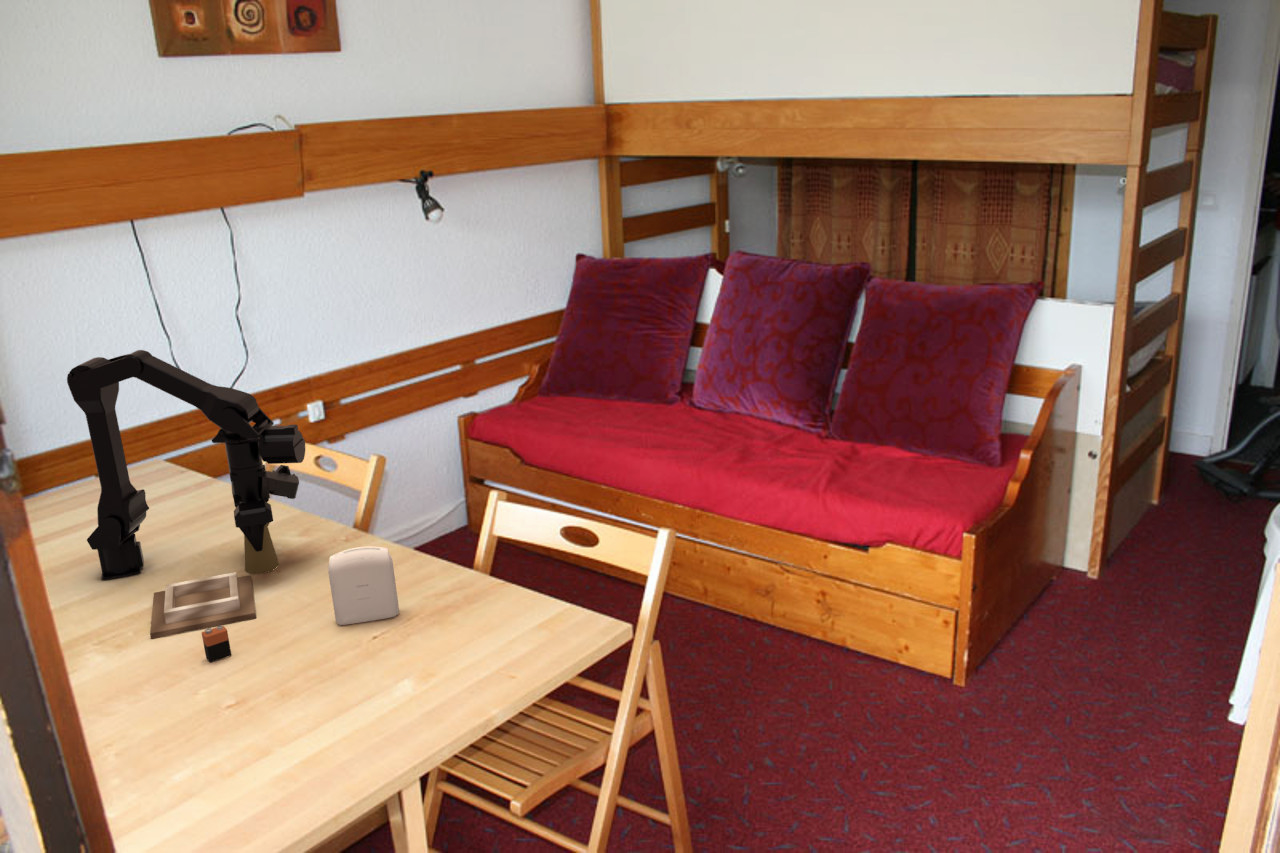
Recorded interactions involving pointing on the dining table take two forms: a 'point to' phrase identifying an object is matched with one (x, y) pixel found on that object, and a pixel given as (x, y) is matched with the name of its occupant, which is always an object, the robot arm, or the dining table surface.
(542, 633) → the dining table surface
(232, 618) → the socket board
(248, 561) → the cork
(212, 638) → the battery
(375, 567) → the photo printer
